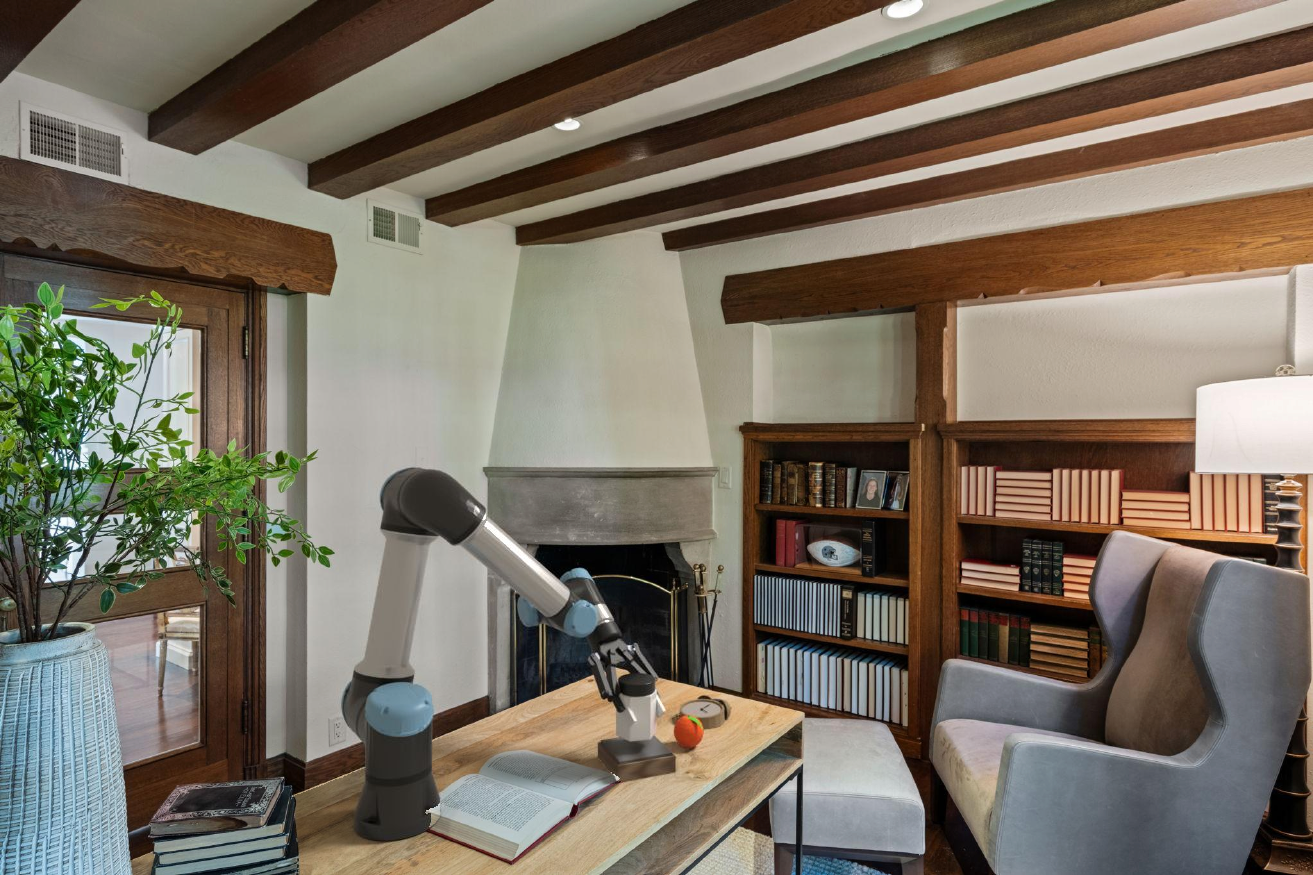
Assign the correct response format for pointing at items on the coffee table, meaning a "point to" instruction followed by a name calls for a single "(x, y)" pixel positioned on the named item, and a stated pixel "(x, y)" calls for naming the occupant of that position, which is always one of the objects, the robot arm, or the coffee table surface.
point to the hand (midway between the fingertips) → (647, 719)
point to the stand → (636, 758)
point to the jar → (638, 706)
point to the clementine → (688, 731)
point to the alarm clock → (707, 711)
